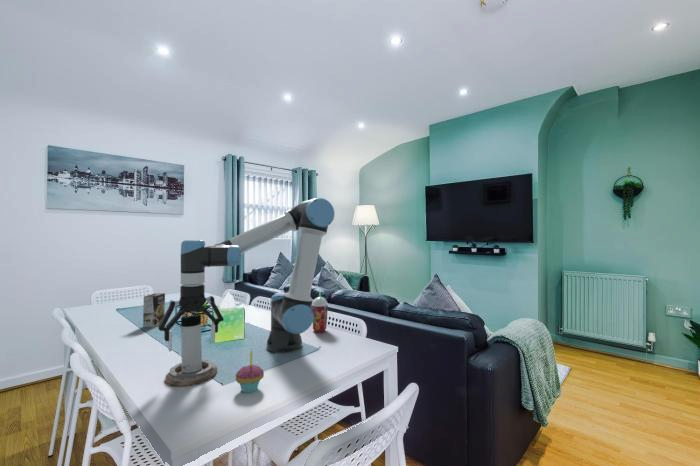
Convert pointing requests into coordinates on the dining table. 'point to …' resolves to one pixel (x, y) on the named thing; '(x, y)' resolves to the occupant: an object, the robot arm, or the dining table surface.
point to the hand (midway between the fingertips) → (192, 346)
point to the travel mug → (191, 344)
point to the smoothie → (319, 314)
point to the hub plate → (180, 384)
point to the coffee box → (153, 309)
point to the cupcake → (249, 376)
